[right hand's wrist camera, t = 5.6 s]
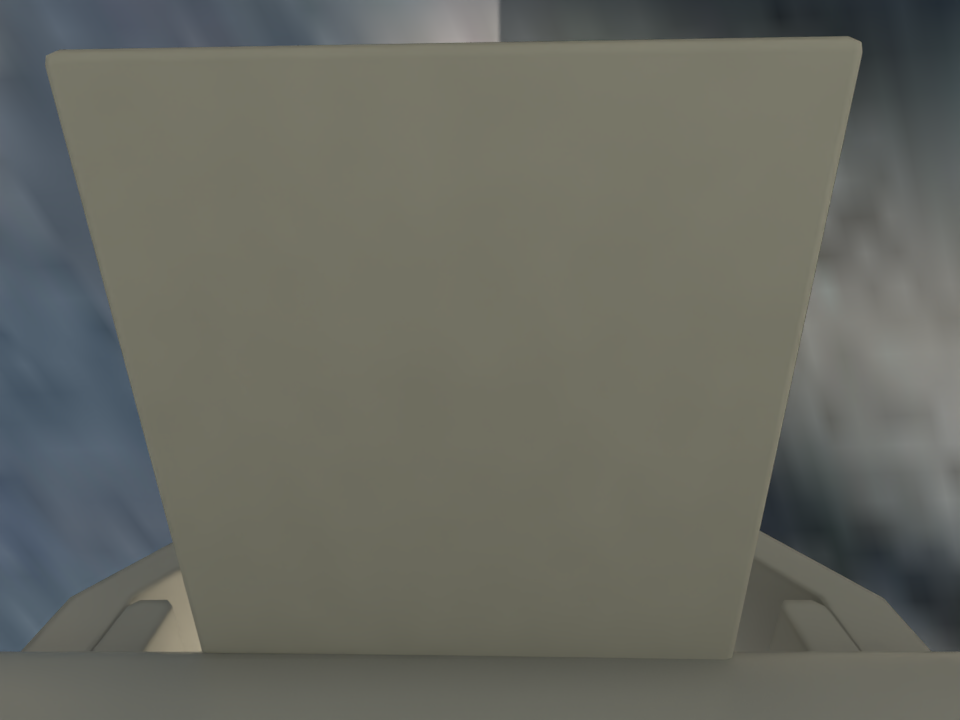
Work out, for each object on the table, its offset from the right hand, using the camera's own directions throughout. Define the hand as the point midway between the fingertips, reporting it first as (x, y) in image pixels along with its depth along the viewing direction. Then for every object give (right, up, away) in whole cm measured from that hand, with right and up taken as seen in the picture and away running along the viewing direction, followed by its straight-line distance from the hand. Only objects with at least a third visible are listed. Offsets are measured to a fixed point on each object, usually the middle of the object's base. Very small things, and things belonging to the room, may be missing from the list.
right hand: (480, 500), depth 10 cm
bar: (0, -23, +12) cm, 25 cm away
